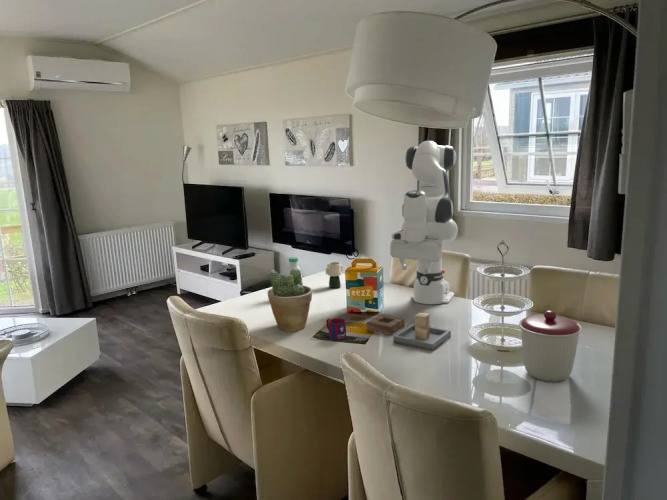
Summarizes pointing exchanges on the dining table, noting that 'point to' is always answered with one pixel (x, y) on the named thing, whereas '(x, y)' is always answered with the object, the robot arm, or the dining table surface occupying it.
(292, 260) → the milk bottle
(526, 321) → the canister
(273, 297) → the potted plant
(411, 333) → the tray
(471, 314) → the dining table surface
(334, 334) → the cup
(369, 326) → the collar
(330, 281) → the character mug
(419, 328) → the peg
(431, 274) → the robot arm
